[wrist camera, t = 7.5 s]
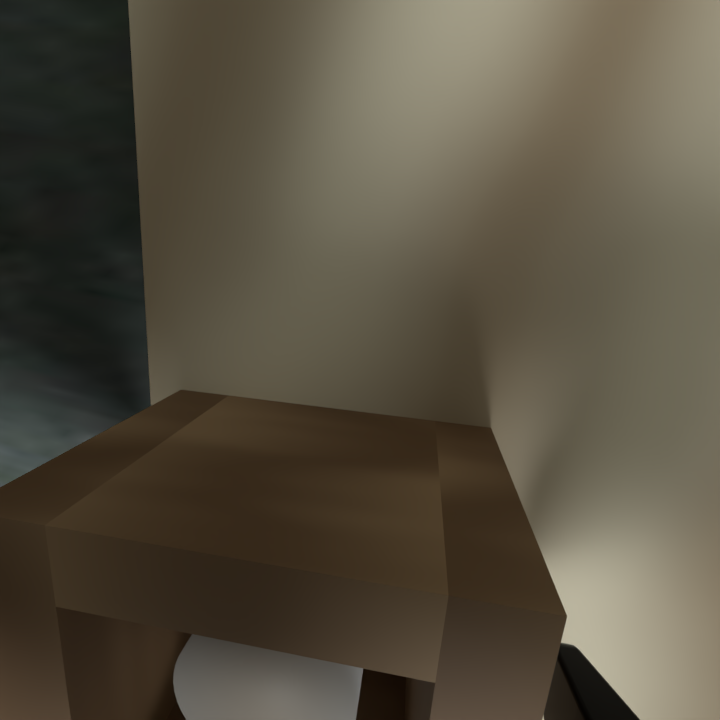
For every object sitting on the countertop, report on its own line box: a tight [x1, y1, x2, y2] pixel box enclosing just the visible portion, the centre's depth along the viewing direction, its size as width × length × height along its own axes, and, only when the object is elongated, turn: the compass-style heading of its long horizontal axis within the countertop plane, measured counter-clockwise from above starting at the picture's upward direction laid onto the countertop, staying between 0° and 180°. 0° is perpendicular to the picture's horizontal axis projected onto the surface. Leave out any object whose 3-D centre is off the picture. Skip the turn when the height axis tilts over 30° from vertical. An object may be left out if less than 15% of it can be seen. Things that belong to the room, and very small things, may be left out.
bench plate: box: [128, 0, 720, 720], centre depth 7 cm, size 15×19×5 cm
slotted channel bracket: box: [0, 390, 567, 720], centre depth 7 cm, size 7×7×4 cm
